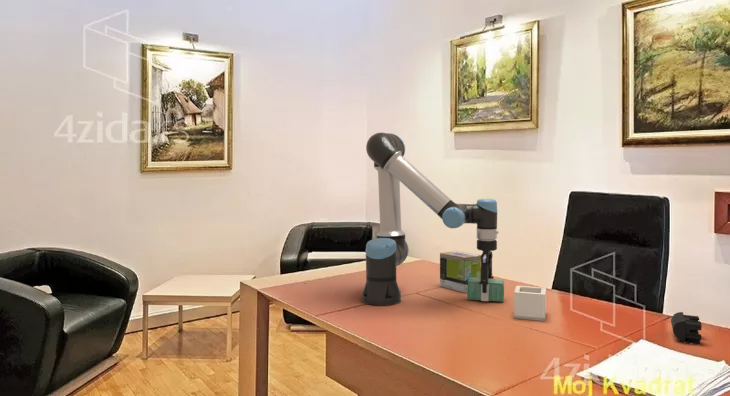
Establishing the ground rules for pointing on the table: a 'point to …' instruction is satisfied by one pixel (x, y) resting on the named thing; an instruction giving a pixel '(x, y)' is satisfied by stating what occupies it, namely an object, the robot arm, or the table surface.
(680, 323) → the end cap
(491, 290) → the box
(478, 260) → the tea box
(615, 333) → the table surface
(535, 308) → the tub
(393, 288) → the robot arm
